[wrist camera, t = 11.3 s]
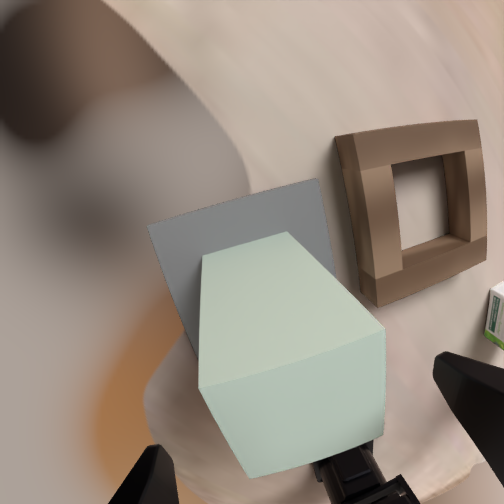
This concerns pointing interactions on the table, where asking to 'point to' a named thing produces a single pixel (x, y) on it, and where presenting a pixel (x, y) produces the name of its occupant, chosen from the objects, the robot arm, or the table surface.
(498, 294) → the syrup box
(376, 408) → the sage block
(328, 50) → the table surface
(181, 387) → the table surface
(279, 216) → the mat
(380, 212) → the pocket block
